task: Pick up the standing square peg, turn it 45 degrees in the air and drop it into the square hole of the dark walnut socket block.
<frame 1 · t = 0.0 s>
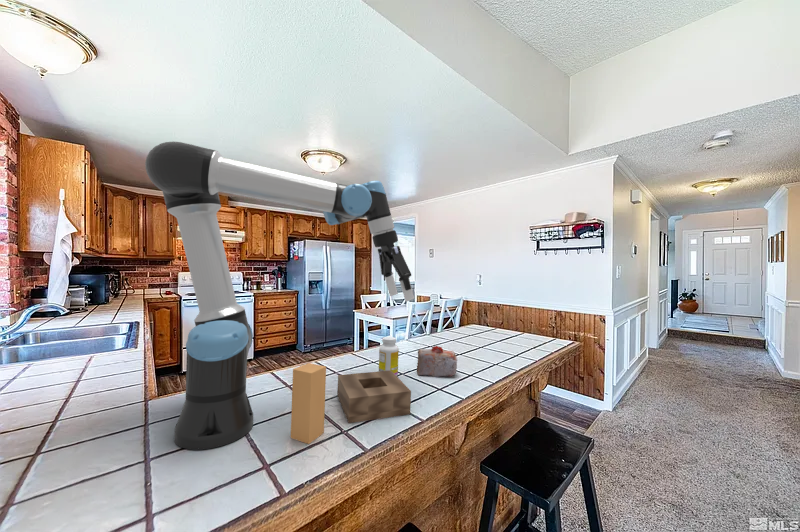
hand: (401, 297, 101), 28 cm above the worktop, tool tilted 20°, fingers open, 13 cm apart
socket block: (371, 404, 87), on the worktop
food item: (436, 374, 112), on the worktop
supplement bottle: (388, 376, 109), on the worktop
peg: (307, 435, 70), on the worktop
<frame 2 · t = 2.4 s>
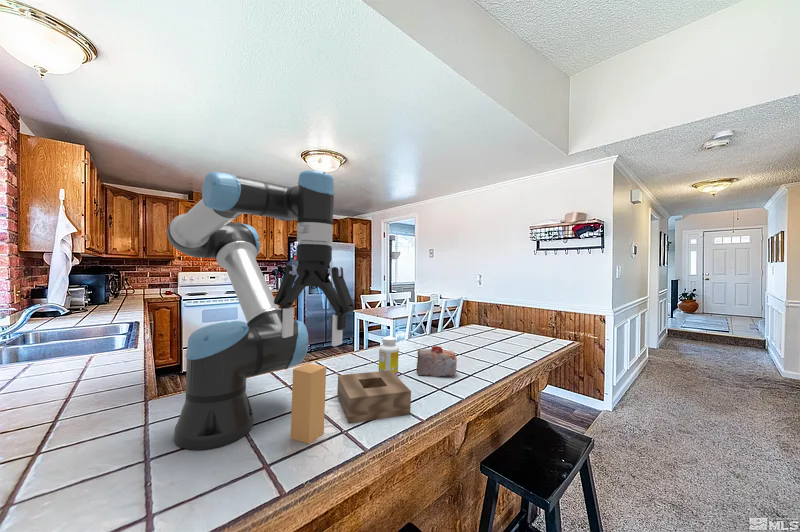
hand: (311, 340, 70), 21 cm above the worktop, tool pointing down, fingers open, 13 cm apart
nothing on the worktop moved.
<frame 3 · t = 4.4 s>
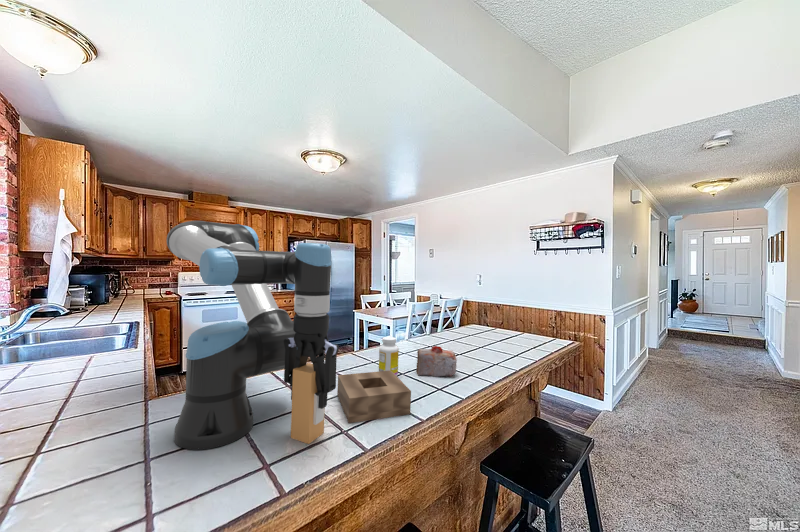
hand: (308, 418, 70), 4 cm above the worktop, tool pointing down, fingers closed on peg, 5 cm apart
peg: (307, 435, 70), on the worktop, touching gripper
everything else where it was.
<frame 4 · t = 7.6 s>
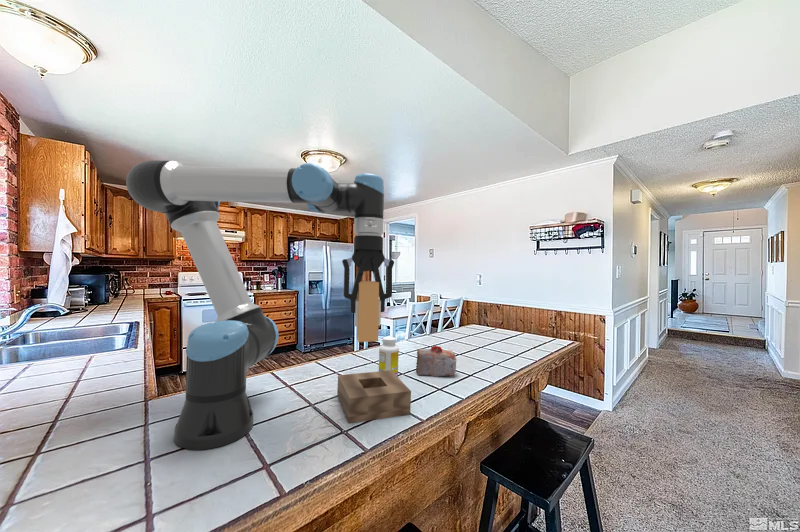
hand: (367, 324, 83), 22 cm above the worktop, tool pointing down, fingers closed on peg, 5 cm apart
peg: (367, 339, 83), point 19 cm above the worktop, touching gripper
everything else where it was.
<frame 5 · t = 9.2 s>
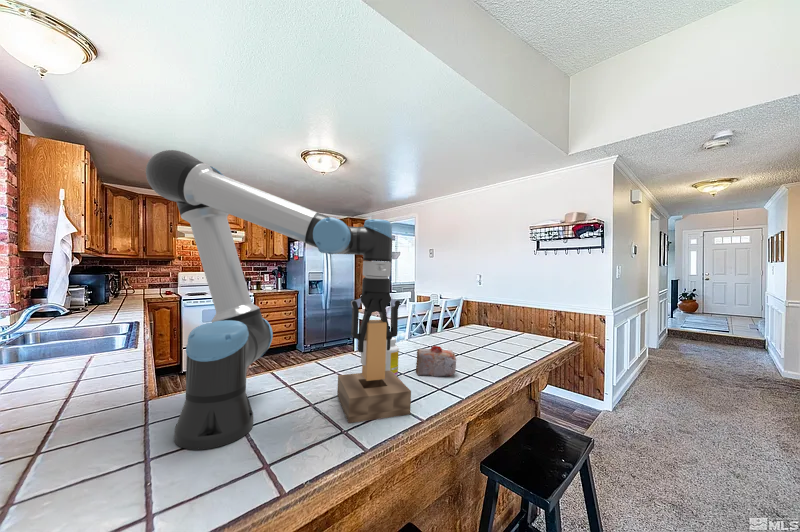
hand: (373, 362, 86), 11 cm above the worktop, tool pointing down, fingers closed on peg, 5 cm apart
peg: (373, 376, 86), point 8 cm above the worktop, touching gripper
everything else where it was.
when the fingers open (8 cm above the worktop, at t = 10.6 s): peg drops 3 cm, resting on socket block.
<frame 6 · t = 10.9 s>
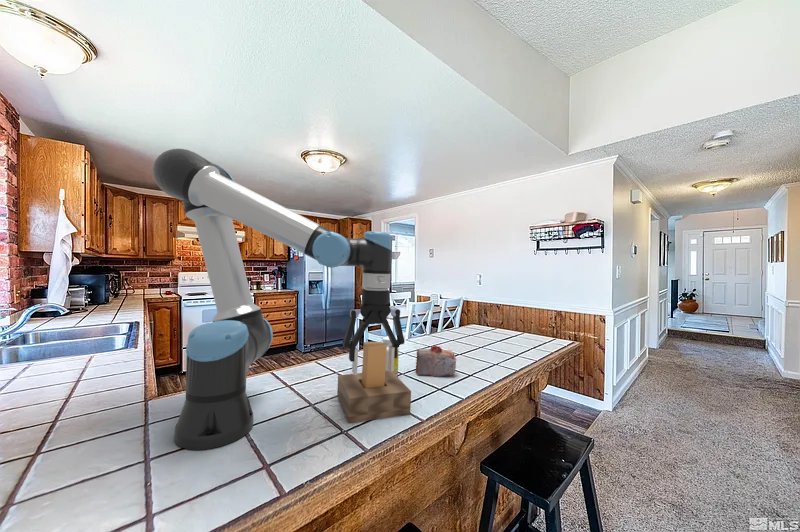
hand: (373, 371, 86), 9 cm above the worktop, tool pointing down, fingers open, 9 cm apart
peg: (371, 399, 86), point 2 cm above the worktop, touching socket block
everything else where it was.
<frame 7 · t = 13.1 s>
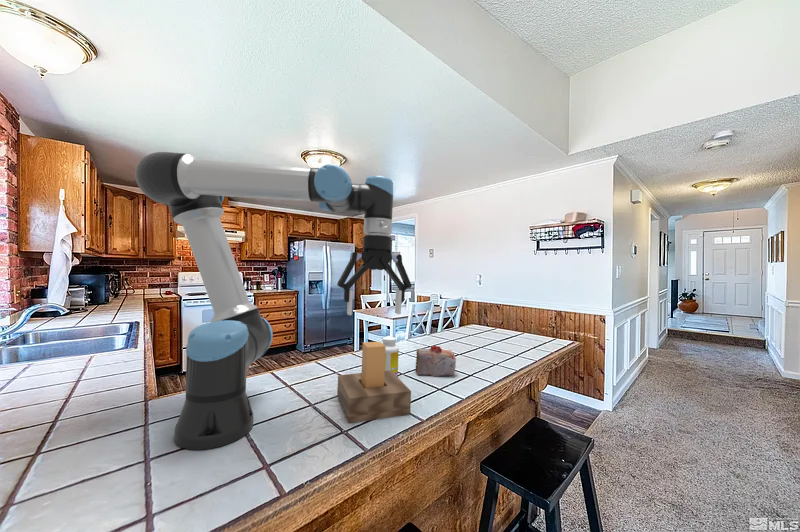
hand: (374, 314, 86), 25 cm above the worktop, tool pointing down, fingers open, 13 cm apart
nothing on the worktop moved.
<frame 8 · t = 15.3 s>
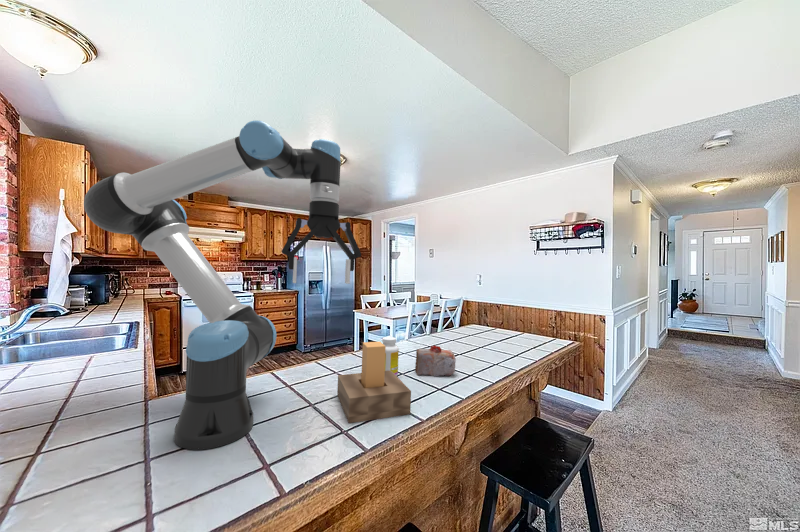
hand: (321, 283, 84), 33 cm above the worktop, tool pointing down, fingers open, 13 cm apart
nothing on the worktop moved.
at the end: peg 0.1 cm off-centre on the socket block, point 1.5 cm above the socket block's base; peg tilted 0°; the gripper is holding nothing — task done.
